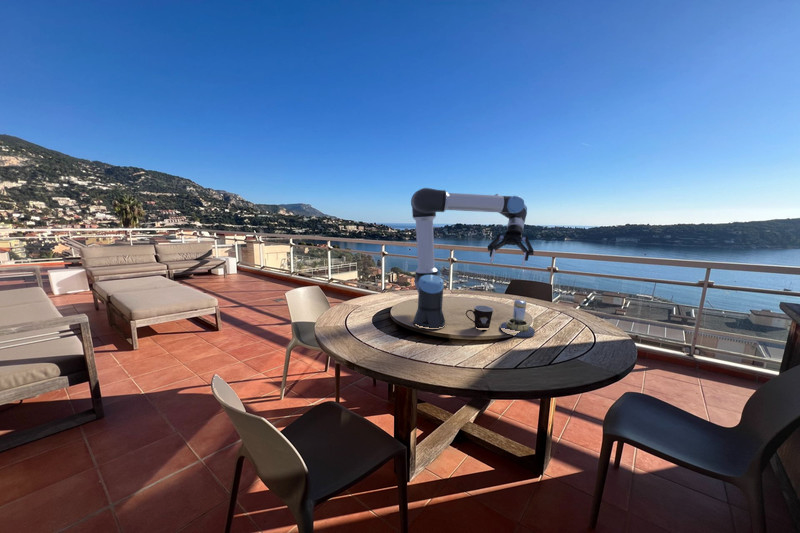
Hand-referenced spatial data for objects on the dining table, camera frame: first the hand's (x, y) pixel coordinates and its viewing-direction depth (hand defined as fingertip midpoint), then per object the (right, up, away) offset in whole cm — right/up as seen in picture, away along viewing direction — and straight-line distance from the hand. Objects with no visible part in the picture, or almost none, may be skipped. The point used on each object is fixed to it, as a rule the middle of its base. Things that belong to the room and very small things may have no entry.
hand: (506, 263), depth 131 cm
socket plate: (+7, -32, +5) cm, 33 cm away
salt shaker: (+7, -30, +5) cm, 31 cm away
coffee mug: (-10, -31, +8) cm, 33 cm away
